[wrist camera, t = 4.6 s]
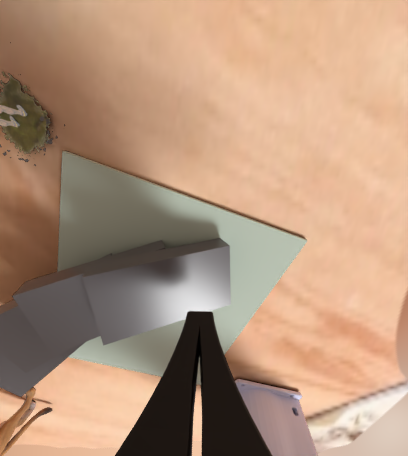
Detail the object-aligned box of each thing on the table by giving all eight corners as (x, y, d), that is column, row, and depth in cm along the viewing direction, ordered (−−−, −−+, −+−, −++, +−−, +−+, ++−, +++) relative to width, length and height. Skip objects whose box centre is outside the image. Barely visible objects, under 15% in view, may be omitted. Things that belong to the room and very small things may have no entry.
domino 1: (109, 261, 14) (-29, 328, 12) (141, 309, 16) (25, 373, 14) (111, 252, 15) (-12, 311, 14) (140, 297, 17) (35, 354, 15)
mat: (305, 238, 15) (307, 240, 15) (202, 382, 25) (202, 385, 24) (65, 150, 12) (62, 151, 12) (55, 351, 22) (54, 354, 22)
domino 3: (165, 247, 13) (12, 296, 11) (181, 303, 15) (52, 355, 13) (161, 239, 15) (25, 281, 12) (176, 291, 17) (60, 336, 14)
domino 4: (229, 245, 13) (82, 277, 10) (230, 304, 15) (103, 345, 12) (220, 237, 15) (88, 264, 12) (222, 292, 16) (106, 326, 14)
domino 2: (62, 285, 15) (-42, 368, 14) (109, 321, 17) (20, 397, 16) (69, 276, 17) (-24, 350, 16) (112, 310, 18) (31, 378, 17)
